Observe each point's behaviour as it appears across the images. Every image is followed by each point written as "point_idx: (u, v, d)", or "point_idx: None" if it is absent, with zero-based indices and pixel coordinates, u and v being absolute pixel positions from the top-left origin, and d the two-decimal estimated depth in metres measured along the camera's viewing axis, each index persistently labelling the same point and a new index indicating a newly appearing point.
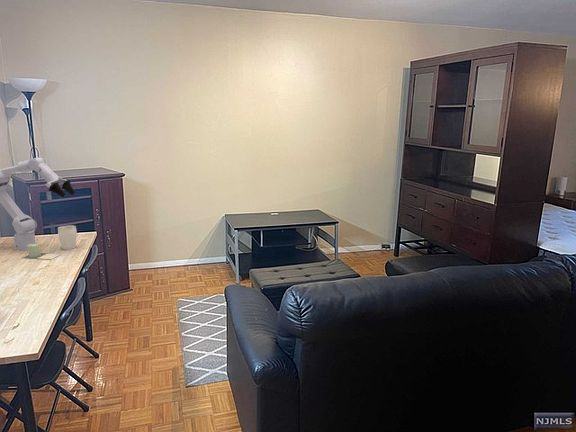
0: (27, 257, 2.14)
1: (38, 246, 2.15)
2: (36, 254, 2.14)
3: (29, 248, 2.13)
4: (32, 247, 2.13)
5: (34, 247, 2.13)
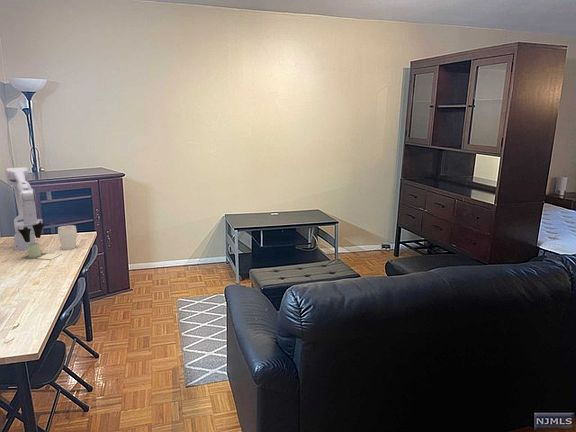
0: (27, 257, 2.14)
1: (38, 246, 2.15)
2: (36, 254, 2.14)
3: (29, 248, 2.13)
4: (32, 247, 2.13)
5: (34, 247, 2.13)
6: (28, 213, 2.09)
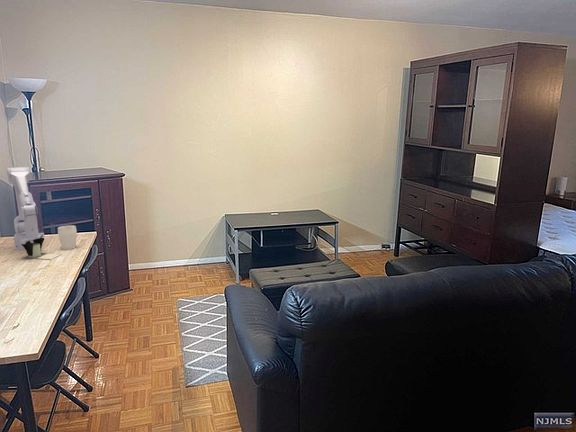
0: (27, 257, 2.14)
1: (38, 246, 2.15)
2: (36, 254, 2.14)
3: None
4: None
5: (34, 247, 2.13)
6: (30, 228, 2.10)
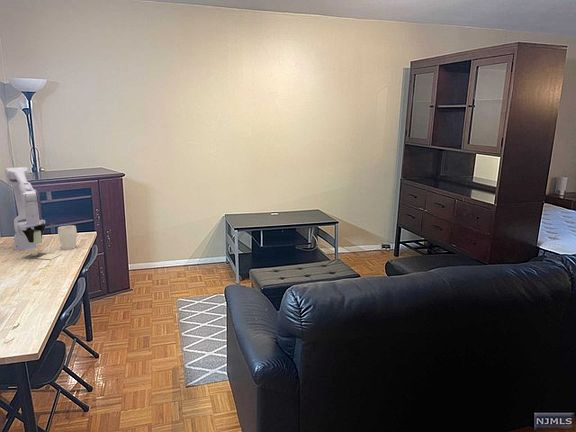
0: (27, 257, 2.14)
1: (39, 233, 2.13)
2: (37, 241, 2.13)
3: None
4: None
5: (35, 234, 2.11)
6: (31, 214, 2.09)
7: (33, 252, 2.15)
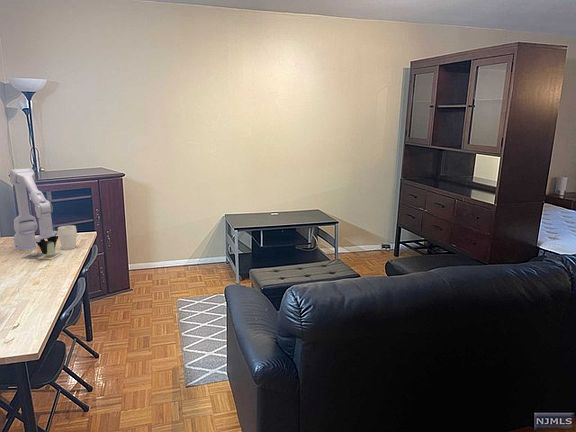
0: (27, 257, 2.14)
1: (52, 244, 2.14)
2: (50, 252, 2.13)
3: None
4: None
5: (48, 245, 2.12)
6: (46, 225, 2.09)
7: (33, 252, 2.15)
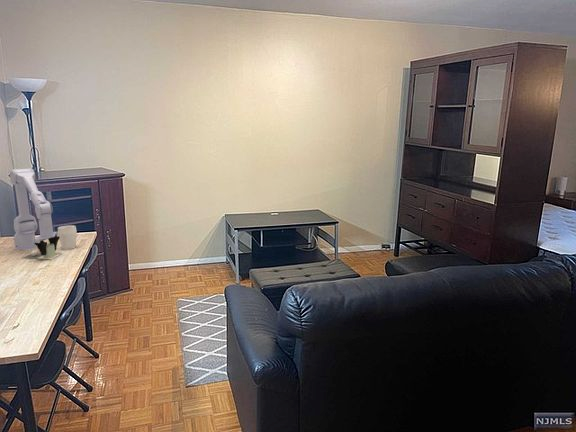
0: (27, 257, 2.14)
1: (52, 246, 2.14)
2: (51, 254, 2.13)
3: None
4: (47, 247, 2.12)
5: (49, 247, 2.12)
6: (46, 226, 2.10)
7: (33, 252, 2.15)
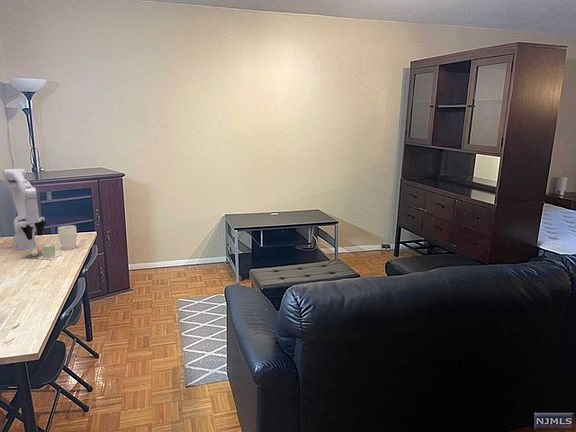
0: (27, 257, 2.14)
1: (52, 246, 2.14)
2: (51, 254, 2.13)
3: (44, 248, 2.12)
4: (47, 247, 2.12)
5: (49, 247, 2.12)
6: (31, 211, 2.12)
7: (33, 252, 2.15)
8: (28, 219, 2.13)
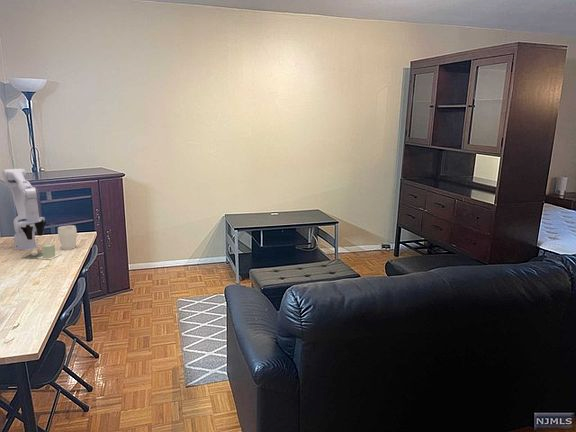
0: (27, 257, 2.14)
1: (52, 246, 2.14)
2: (51, 254, 2.13)
3: (44, 248, 2.12)
4: (47, 247, 2.12)
5: (49, 247, 2.12)
6: (31, 211, 2.12)
7: (33, 252, 2.15)
8: (28, 219, 2.13)
